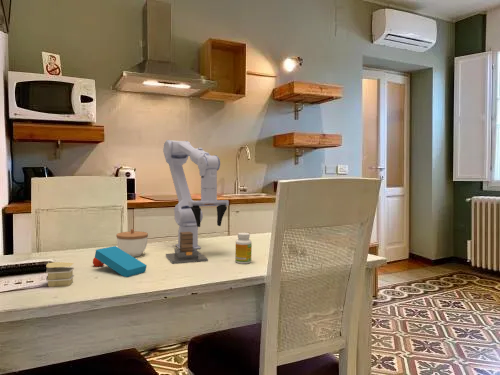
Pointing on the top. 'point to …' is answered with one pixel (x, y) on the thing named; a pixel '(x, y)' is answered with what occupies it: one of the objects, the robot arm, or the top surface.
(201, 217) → the robot arm
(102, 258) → the lever
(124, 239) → the lidded jar
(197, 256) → the socket
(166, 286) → the top surface
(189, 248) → the column
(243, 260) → the supplement bottle
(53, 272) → the stacked layers on plate
